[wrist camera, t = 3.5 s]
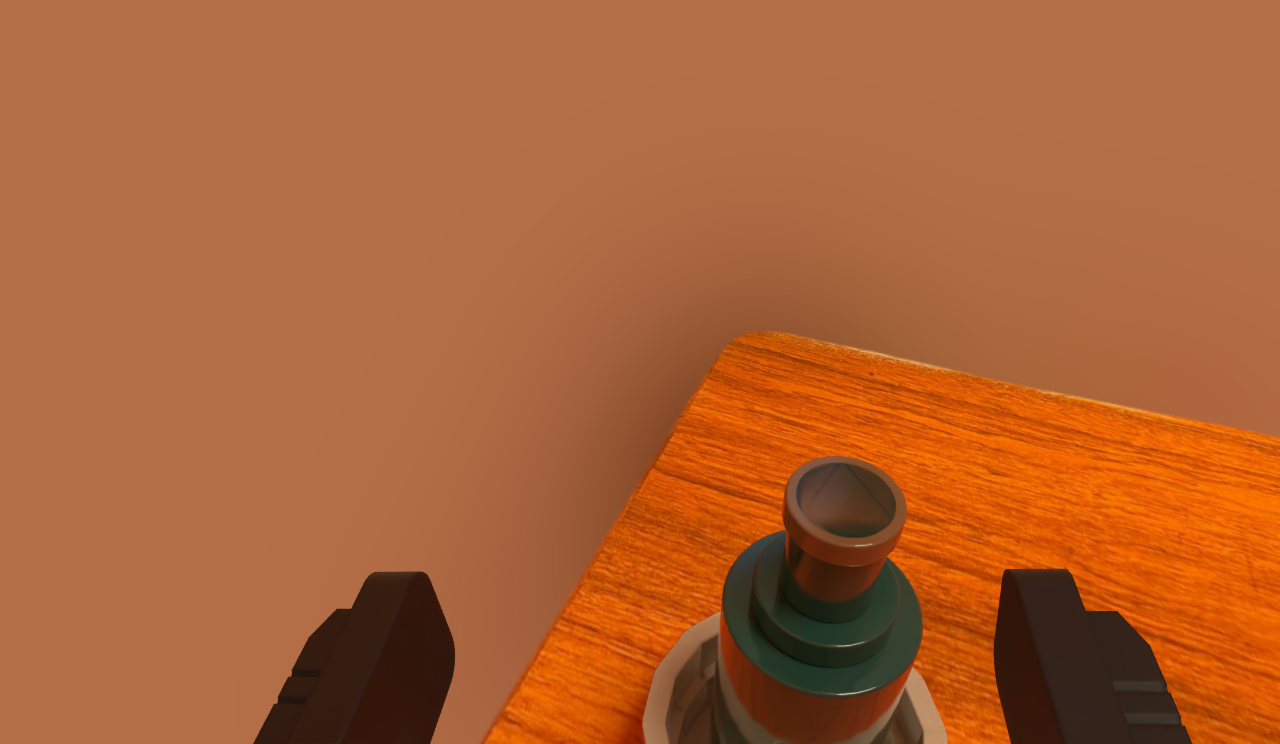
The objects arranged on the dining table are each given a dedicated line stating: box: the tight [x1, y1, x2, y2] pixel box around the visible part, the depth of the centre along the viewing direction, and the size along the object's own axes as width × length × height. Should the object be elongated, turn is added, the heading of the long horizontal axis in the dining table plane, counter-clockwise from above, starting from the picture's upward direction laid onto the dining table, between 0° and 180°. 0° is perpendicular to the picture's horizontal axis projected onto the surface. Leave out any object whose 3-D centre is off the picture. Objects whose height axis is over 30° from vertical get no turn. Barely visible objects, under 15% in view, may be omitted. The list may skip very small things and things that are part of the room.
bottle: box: [708, 456, 923, 744], centre depth 27 cm, size 6×6×16 cm
